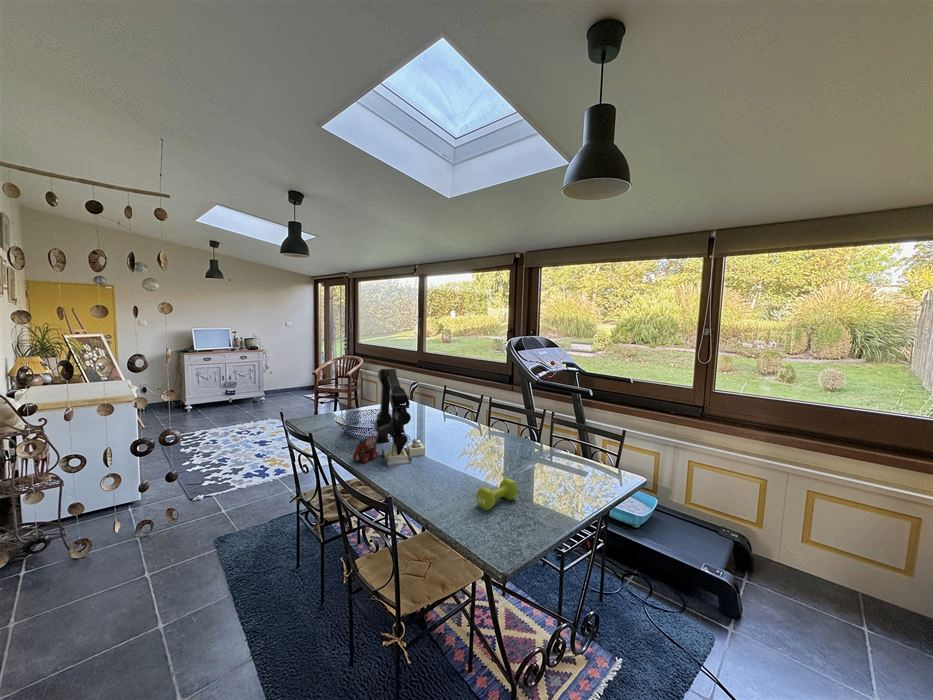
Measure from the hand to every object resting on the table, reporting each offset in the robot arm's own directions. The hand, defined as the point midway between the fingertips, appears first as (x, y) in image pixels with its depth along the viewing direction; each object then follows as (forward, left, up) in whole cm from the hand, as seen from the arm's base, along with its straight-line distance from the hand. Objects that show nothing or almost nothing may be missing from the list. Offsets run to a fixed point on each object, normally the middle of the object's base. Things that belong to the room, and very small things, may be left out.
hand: (396, 451), depth 167 cm
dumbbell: (+49, +29, -4) cm, 57 cm away
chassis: (-1, 0, -4) cm, 4 cm away
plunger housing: (-6, +11, -4) cm, 13 cm away
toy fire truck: (-3, -14, -4) cm, 15 cm away
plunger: (-6, +10, -1) cm, 12 cm away
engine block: (0, 0, -3) cm, 3 cm away
